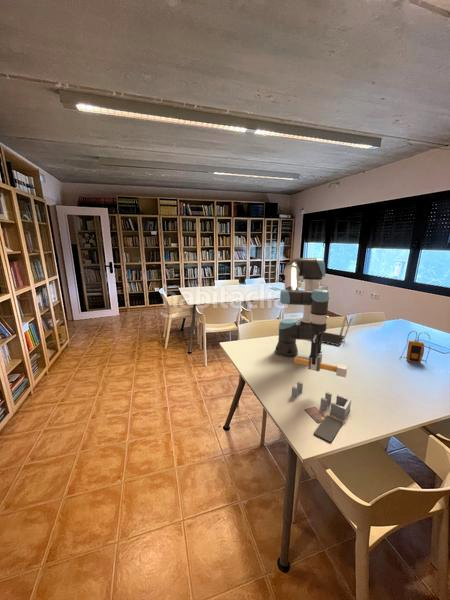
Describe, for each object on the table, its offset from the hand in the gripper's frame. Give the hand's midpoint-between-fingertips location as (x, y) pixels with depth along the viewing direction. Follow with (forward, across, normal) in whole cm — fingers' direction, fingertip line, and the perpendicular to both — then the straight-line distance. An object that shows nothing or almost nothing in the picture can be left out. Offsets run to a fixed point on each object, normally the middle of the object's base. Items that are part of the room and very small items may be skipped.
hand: (314, 367), depth 121 cm
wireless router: (+12, +82, +8) cm, 84 cm away
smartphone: (+15, -23, -11) cm, 29 cm away
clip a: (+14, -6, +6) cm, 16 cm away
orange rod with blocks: (0, 0, -2) cm, 2 cm away
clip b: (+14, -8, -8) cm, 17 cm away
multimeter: (+13, +72, -46) cm, 87 cm away
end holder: (+14, -9, -14) cm, 21 cm away
